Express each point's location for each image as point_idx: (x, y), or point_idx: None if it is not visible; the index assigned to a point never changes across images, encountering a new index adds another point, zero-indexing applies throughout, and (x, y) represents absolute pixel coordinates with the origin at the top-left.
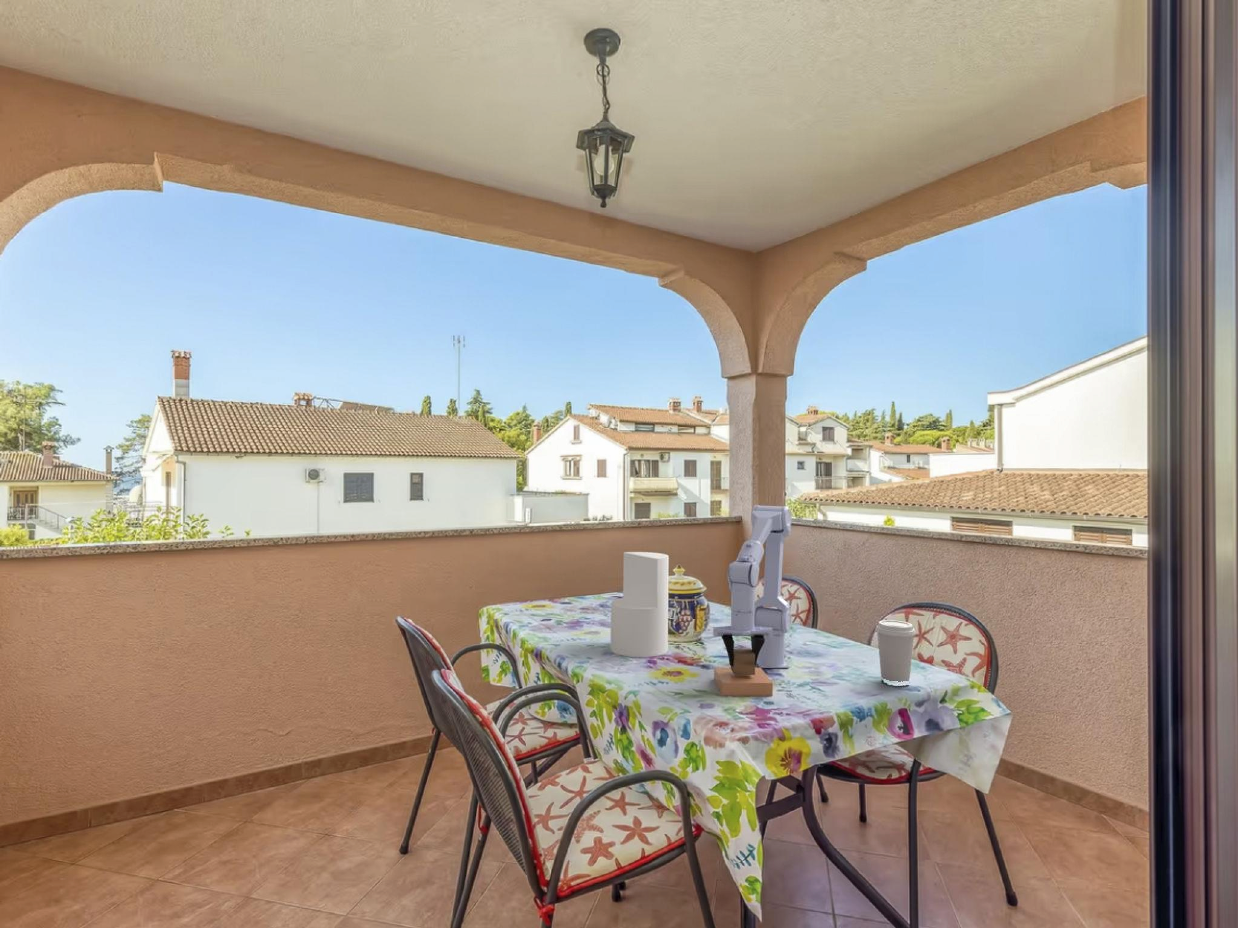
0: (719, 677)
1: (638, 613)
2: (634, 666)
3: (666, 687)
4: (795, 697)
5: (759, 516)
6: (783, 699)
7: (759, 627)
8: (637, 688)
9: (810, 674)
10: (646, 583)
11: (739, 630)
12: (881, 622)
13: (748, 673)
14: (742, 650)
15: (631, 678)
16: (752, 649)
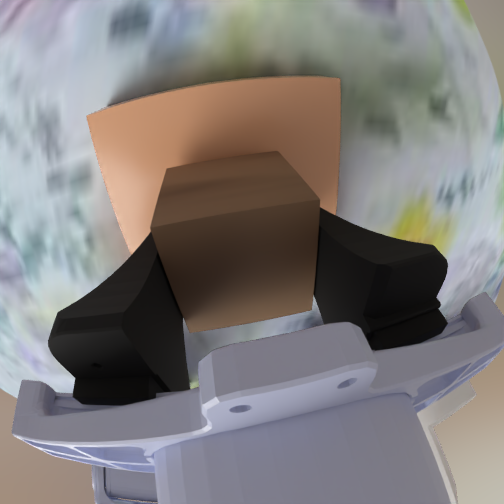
0: (338, 154)
1: (458, 396)
2: (449, 283)
3: (451, 157)
4: (32, 118)
5: None
6: (69, 79)
7: (126, 464)
8: (492, 152)
9: (44, 322)
10: (443, 459)
11: (376, 397)
12: None
13: (201, 163)
14: (244, 294)
15: (481, 215)
16: (175, 310)
